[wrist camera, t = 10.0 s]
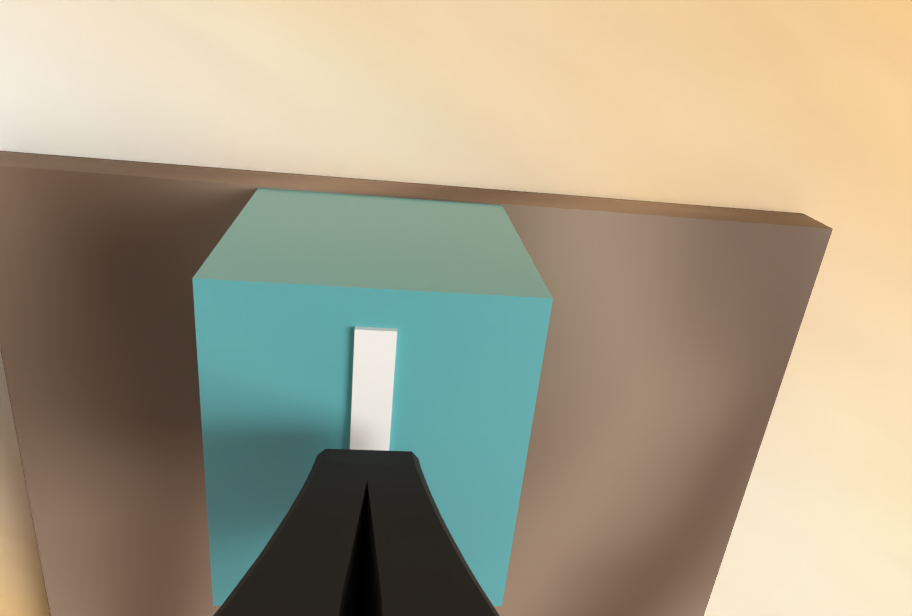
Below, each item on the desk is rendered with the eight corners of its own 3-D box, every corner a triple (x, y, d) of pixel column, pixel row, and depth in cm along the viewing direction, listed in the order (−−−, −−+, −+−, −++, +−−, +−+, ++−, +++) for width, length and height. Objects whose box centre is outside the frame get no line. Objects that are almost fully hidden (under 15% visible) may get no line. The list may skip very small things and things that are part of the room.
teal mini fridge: (263, 436, 16) (211, 610, 11) (258, 187, 14) (190, 281, 9) (471, 442, 17) (502, 610, 12) (502, 204, 14) (554, 301, 10)
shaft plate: (87, 682, 21) (17, 838, 17) (-2, 151, 14) (-148, 204, 10) (658, 678, 23) (711, 814, 19) (803, 213, 16) (928, 277, 12)
